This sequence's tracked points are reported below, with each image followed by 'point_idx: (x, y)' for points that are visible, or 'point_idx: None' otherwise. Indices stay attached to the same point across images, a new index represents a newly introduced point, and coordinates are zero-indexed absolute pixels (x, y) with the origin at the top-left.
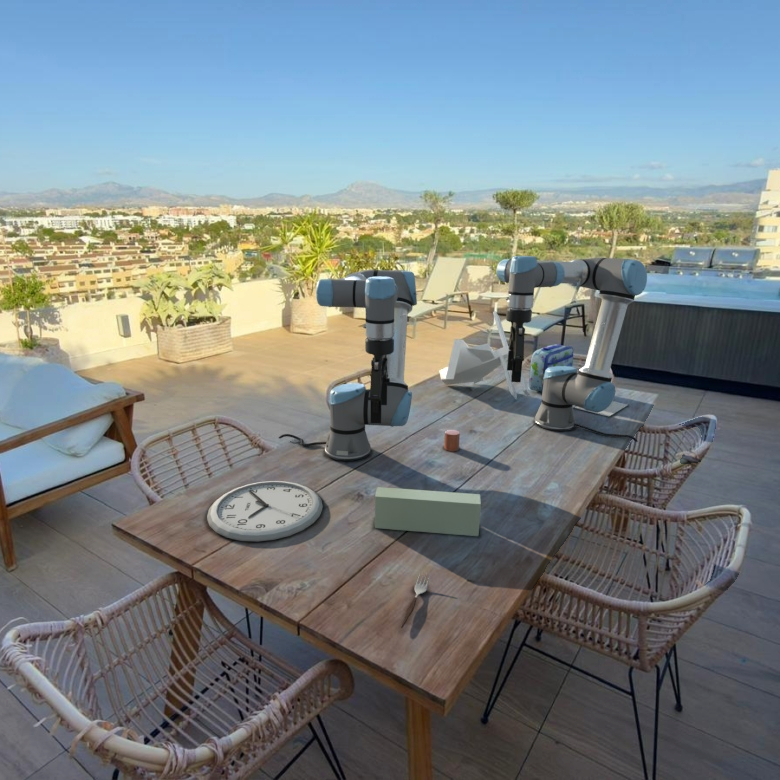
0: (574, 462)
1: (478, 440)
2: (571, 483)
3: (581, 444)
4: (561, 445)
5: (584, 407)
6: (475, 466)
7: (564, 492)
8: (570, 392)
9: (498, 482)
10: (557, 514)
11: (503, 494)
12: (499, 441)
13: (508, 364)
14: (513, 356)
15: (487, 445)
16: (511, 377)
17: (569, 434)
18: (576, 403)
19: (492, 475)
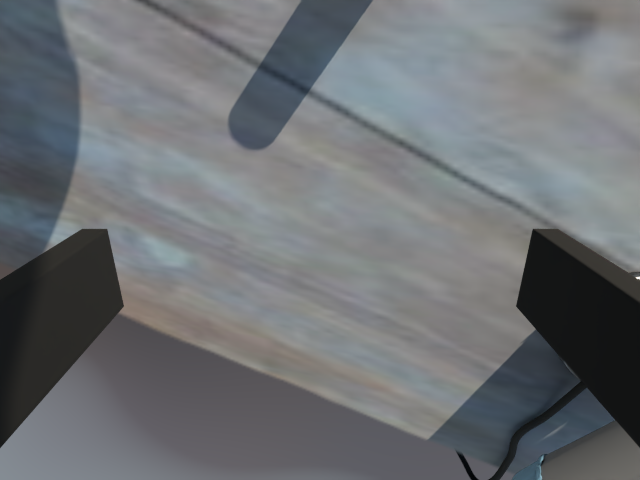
0: (327, 329)
1: (481, 47)
2: (194, 300)
3: (454, 368)
4: (444, 318)
5: (538, 459)
6: (239, 24)
7: (137, 275)
8: (619, 465)
9: (139, 101)
10: (12, 240)
11: (65, 110)
12: (472, 131)
13: (570, 265)
14: (631, 382)
15: (433, 82)
16: (83, 244)
17: (530, 353)
18: (573, 447)
19: (184, 84)
